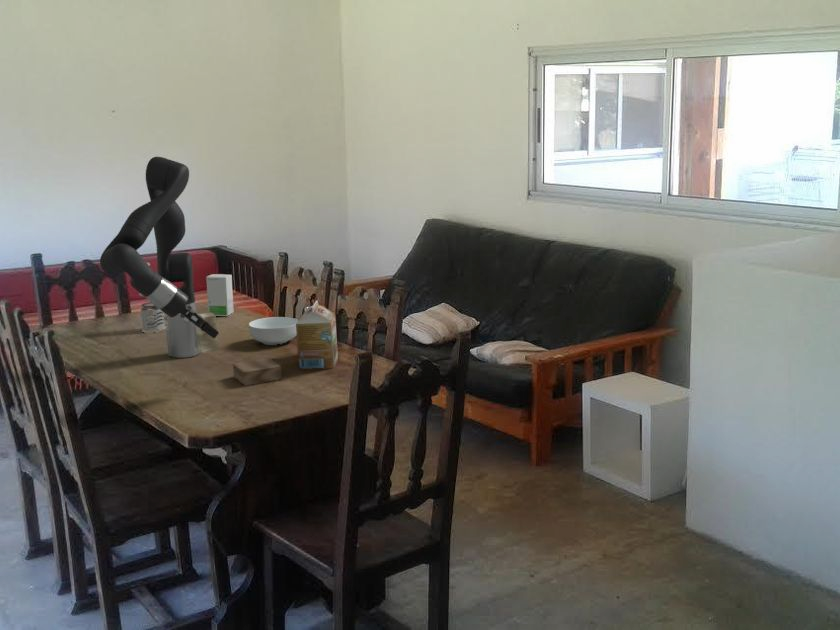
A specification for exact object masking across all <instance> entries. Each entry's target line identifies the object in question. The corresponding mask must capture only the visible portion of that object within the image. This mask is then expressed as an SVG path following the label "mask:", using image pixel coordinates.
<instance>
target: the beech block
mask: <svg viewBox="0 0 840 630" xmlns="http://www.w3.org/2000/svg"><path fill="white" fill-rule="evenodd" d="M199 314H200V315H201V316H202V317H203V320H204V321H206V322H208V323H209V325H210V326H211V327H213V328H214V329H215V330H217V331H218V325H217V317H216V315H214V314H213V313H208V312H205V313H199ZM203 325H204V322H202V323H201V324H200V327H202V326H203ZM196 329H197V340H198V349H199V350H200V353H202V354H203V353H211V352H216V351H217V352H218V351H219V349H220V348H219V337H218V335H219V334H218V335H217V336H216V337H215V338H212V337H211V336H210V335H209V334H207V333H206V332H205V331H202V330H201V329H200V328H199V327H198V326H197V327H196Z"/></svg>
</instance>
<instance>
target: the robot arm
mask: <svg viewBox="0 0 840 630" xmlns="http://www.w3.org/2000/svg"><path fill="white" fill-rule="evenodd" d="M189 178H190V170H189V168H188V166H187V165H186V164H184V163H181V162H179V161H175V160H172V159H169V158H166V157H162V156H154V157H152V158H150V160H149V161H148V163H146V168H145V182H146V188H147V191H148V196H149V200H150V201H148V202H146V203H144V204H142V205H141V206H138V207H137V208H136V209H134V210H133V211H132V212H131V213H130V214H129V215H128V217H127V219H126V220H125V221H124V224H122V226H121V228H120V230H119V232H118V233H117V234H116V236H115V237H114V238H112V240H111V241H110V242H109V244H108V245H107V246H106V247H105V248H104V250H103V252H102V254H101V256H100V259H99V266H100V268H101V270H102V271H103V273H105V274H106V275H109V276H117V275H121V274H122V273H126V274H127V275H128V276H129V277H130V281H129V283H130V285H131V287H132V288H133V289H134V290H135V291H136V292H138V294H139V293H141V294H142V295H143V296H145V297H144V298H146V299H147V301H149V302H151V303H152V304H153V305H155V306H156V307H157V308H159V309H160V310H161V311H163V312H162V313H164V314H165V315H166V320H167V326H166V327H167V328H166V331H165V333H166V342H167V343H166V346H167V353H168V355H167V356H168V357H169V356H171V357H172V358H176V359H177V358H178V359H180V358H181V359H182V358H191V357H195V356H198V355H200V354H201V351H200V350H199V349H198V340H197V329H196V327H197V326H198V327H199V328H200V329H201V330H202V331H205V332H206V333H207V334H209V335H210V336H211V337H212V338H215V337H216V336H217V335H219V333H220V332H219V331H218V329H217V330H215V329H214V328H213V327H211V326H210V325H209V323H208V322H206V321H204V320H203V317H202V316H201V315H200V314H201V313H198V312H197V306H196V297H195V289H194V267H193V266H194V265H193V259H192V256H191V254H190V253H189V252H176V253H172V252H173V250H174V249H175V248H176V247H177V246H179V244H180V243H181V241H182V240H183V239H184V237H185V235H186V220H185V214H184V211H183V209H182V208H181V207H180V206H179V204H178V203H177V200H178V199H179V197H180V196H181V195H182V193H183V192H184V191H185V189H186V187H187V185H188V183H189ZM152 231H153V232H154V238H155V239H154V240H155V244H156V245H155V246H156V263H157V264H156V269H157V270H156V271H155V270H154V269H152V268H151V267H150V266H148V264H147V261H146V260H145V259H144V258H143V257H142V255H141V254H140V252H138V251H137V250H138V249H140V248H141V247H143V246H144V244H145V243H146V241H147V239H148V238H149V236H150V234H151V232H152ZM173 283H183V284H182V285H181V286H180V287H177V286H176V285H175V284H173ZM202 322H204V325H203V326H202V327H200V324H201V323H202ZM171 357H170V358H171Z"/></svg>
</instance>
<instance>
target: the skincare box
mask: <svg viewBox="0 0 840 630" xmlns="http://www.w3.org/2000/svg"><path fill="white" fill-rule="evenodd" d="M232 276H233V275H232V274H224V273H218V274H217V273H215V274H214V273H213V274H210V275H207V276H206V278H205V279H206V294H207V295H206V296H207V309H208V310H207V313H213V314H214V315H216V316H228V315H230V314H231V313H233V312H234V311H235V310H234V297H233V293H234V292H233V277H232ZM234 313H235V312H234ZM234 313H233V314H234ZM230 316H231V315H230Z"/></svg>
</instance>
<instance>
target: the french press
mask: <svg viewBox="0 0 840 630" xmlns="http://www.w3.org/2000/svg"><path fill="white" fill-rule="evenodd" d="M146 263H147V264H148V266H149V267H150V266H151V264H150V262H148V261H146ZM138 295H139V296H140V297H144V298H146V297H145V296H143V295H142V294H141V293H139V292H138ZM141 307H142V308H140V311H141V312H140V313H141V322H142V323H141V325H142V329H143V330H145V331H155V330H162V329H165V328H166V327H167V326H166V323H165V322H166V321H165V316H166V314H165V313H164V312H163V311H161V310H160V309H159V308H157V307H156V306H155V305H153V304H152V303H151V302H150V301H149V302H144V303H141Z"/></svg>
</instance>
